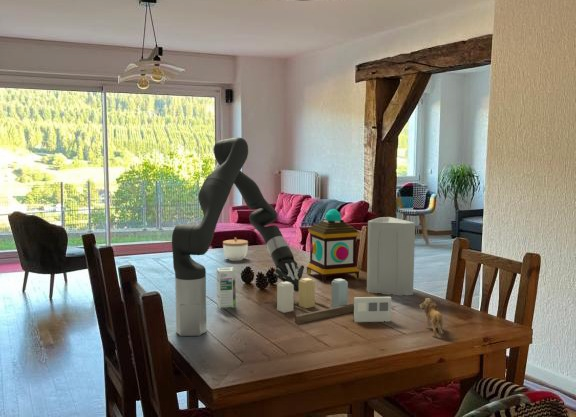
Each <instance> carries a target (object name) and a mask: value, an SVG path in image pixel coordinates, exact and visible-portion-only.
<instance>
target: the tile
mask: <svg viewBox="0 0 576 417" xmlns="http://www.w3.org/2000/svg"><path fill="white" fill-rule="evenodd" d="M353 299H354V300H353V304H354V312H353V322H354V323H369V322H370V323H378V322H381V323H382V322H383V323H384V321H385V322H391V321H392V320H391V318H392V316H391V315H392V297H391V296H363V297H362V296H359V297H357V296H356V297H355V296H354V298H353Z"/></svg>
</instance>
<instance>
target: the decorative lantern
mask: <svg viewBox="0 0 576 417" xmlns="http://www.w3.org/2000/svg"><path fill="white" fill-rule="evenodd" d="M324 216H325V217H324V218H323V219H322V220H321V221H319V222H318V223H317V224H312V226H309V228H308V229H307V231H308V233H309V238H310V239H309V244H310V245H309V247H310V248H309V252H310V253H309V258H310V259H309V263H308V264H307V266H306V273H307V274H308V275H311V273H312V272H314V273H316V274H318V275H320V276H321V280H322V283H325V282H326V278H327V276H328V277H329V276H340V275H349V274H354V278H355V280H358V279H359V277H360V271H359V268H358V267H357V266H358V265H357V238H358V235H359V233H360V231H358V230H357V229H356V228H355V227H354V226H351V225H350V224H348V223H347V222H345V220H343V219H342V215H341V213H340V211H338V210H337V209H336V208H335V209H334V208H332V209H329V210H328V211H327V212H326V213H325V215H324Z"/></svg>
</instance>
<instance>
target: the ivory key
mask: <svg viewBox="0 0 576 417" xmlns="http://www.w3.org/2000/svg"><path fill="white" fill-rule="evenodd" d="M276 288H277V289H276V310H277V311H279V312H281V313H289V312H294V308H293V305H294V300H295V299H294V297H295V296H294V293H295V291H294V285H293V284H292V283H290V282H287V281H285V282H283V281H279V282H278V283H276Z"/></svg>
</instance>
